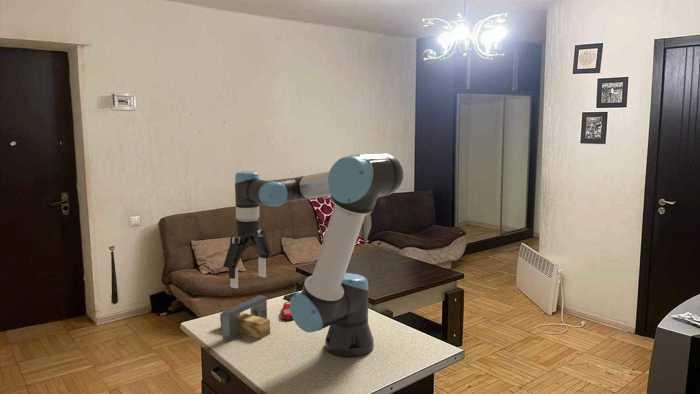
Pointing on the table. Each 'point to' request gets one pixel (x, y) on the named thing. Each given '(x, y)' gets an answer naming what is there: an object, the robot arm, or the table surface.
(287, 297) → the phone
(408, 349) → the table surface
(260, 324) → the tan long block
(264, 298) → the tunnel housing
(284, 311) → the race car
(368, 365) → the table surface
